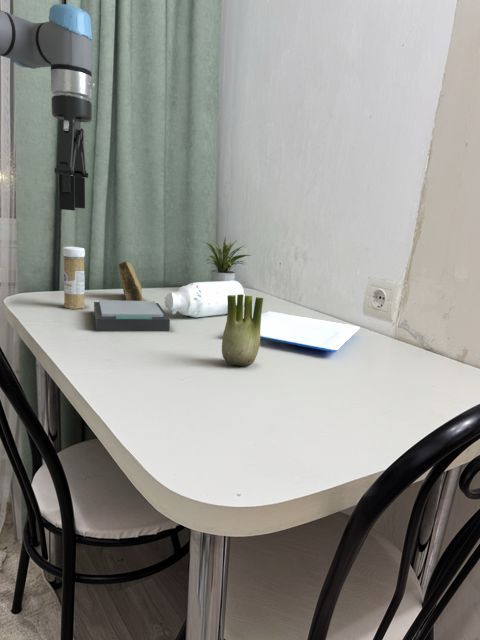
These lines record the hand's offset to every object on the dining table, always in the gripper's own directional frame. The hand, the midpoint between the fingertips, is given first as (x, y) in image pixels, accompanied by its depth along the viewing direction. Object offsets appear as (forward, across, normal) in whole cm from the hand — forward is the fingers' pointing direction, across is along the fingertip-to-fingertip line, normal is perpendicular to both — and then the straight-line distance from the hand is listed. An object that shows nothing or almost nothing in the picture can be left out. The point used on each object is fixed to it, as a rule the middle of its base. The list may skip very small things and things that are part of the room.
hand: (73, 209), depth 106 cm
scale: (+22, -8, -12) cm, 26 cm away
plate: (+22, -16, -47) cm, 54 cm away
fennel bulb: (+22, -35, -32) cm, 52 cm away
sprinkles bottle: (+22, +3, 0) cm, 22 cm away
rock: (+22, +16, -12) cm, 30 cm away
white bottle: (+22, 0, -29) cm, 37 cm away
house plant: (+22, +31, -36) cm, 52 cm away
